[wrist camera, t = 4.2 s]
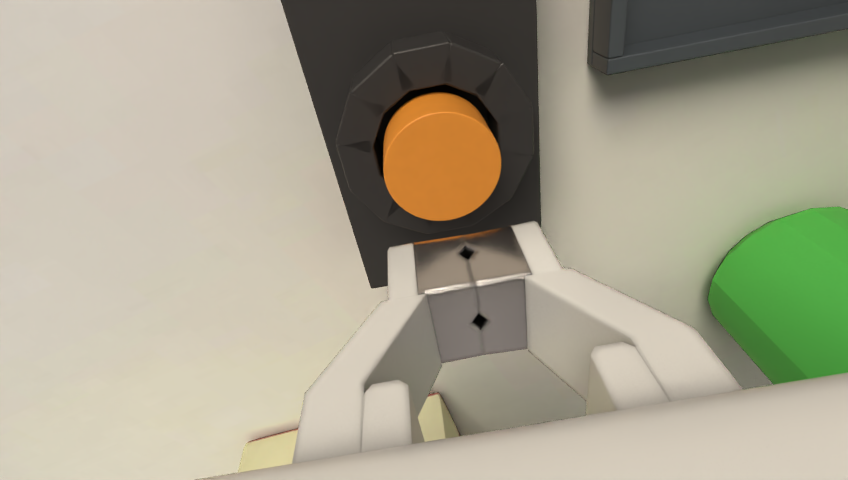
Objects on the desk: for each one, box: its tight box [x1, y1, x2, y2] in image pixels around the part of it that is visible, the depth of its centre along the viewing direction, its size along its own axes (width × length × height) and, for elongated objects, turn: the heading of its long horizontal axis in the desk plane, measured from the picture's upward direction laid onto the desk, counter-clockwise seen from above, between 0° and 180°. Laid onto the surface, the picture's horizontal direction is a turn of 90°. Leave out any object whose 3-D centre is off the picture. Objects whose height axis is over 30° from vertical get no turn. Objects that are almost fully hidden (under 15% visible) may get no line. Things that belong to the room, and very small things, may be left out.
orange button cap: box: [383, 92, 501, 221], centre depth 14 cm, size 4×4×2 cm
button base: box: [281, 0, 541, 288], centre depth 17 cm, size 14×8×5 cm, turn 10°
